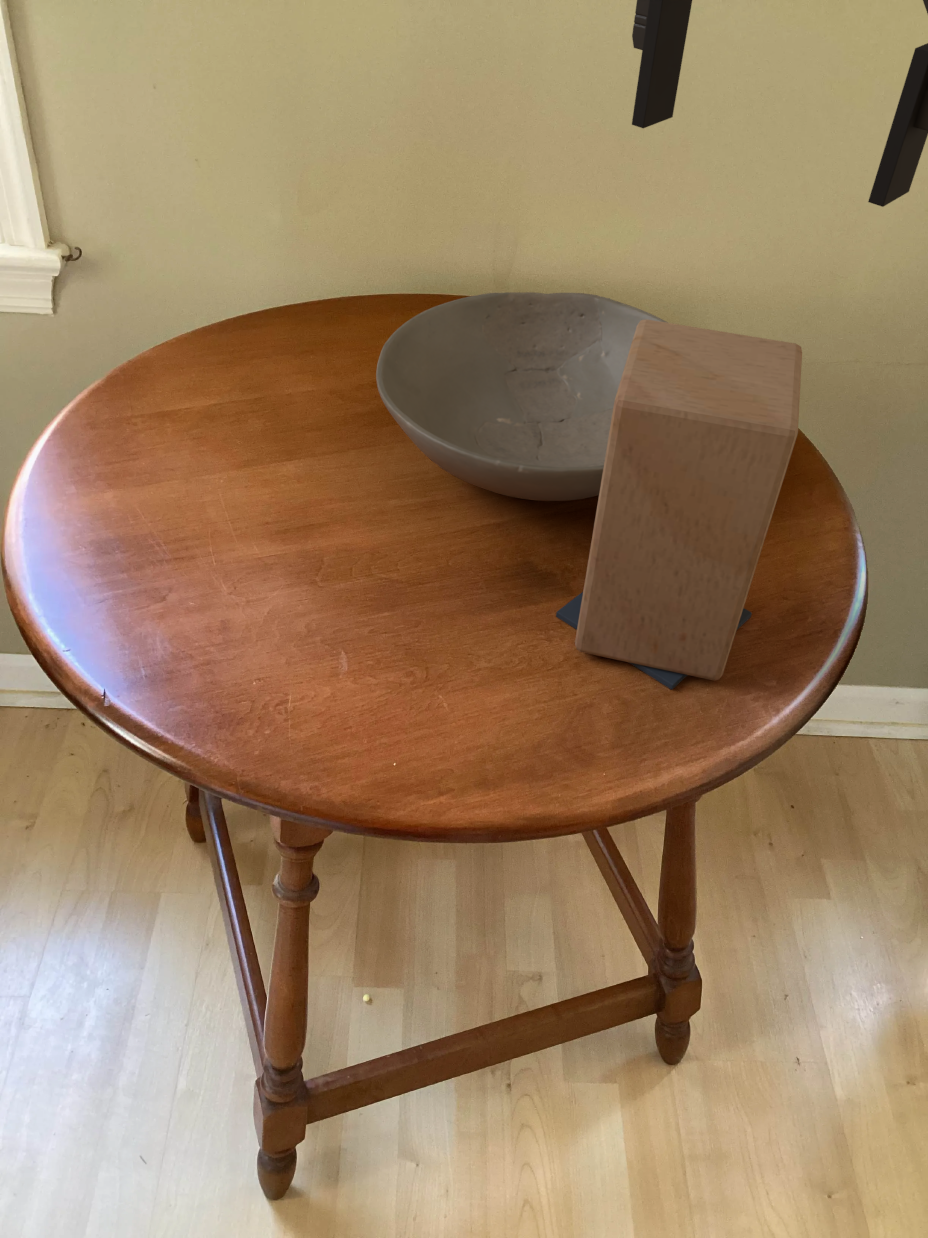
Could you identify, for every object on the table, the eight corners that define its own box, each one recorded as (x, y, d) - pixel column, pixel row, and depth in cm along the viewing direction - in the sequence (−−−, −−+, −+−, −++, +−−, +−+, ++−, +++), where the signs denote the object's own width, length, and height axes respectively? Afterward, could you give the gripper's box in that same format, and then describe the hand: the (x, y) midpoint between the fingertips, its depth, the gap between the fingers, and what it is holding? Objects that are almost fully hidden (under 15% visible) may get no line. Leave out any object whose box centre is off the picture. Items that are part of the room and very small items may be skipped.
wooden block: (720, 685, 69) (800, 430, 56) (572, 653, 71) (614, 397, 57) (731, 588, 76) (804, 341, 63) (596, 561, 78) (639, 314, 64)
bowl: (729, 406, 95) (749, 324, 90) (656, 595, 76) (676, 505, 71) (451, 342, 102) (454, 261, 96) (320, 501, 83) (314, 411, 77)
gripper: (1311, -437, 34) (1038, 211, 49) (675, -443, 46) (609, 80, 60) (1250, -456, 30) (972, 259, 44) (569, -458, 42) (525, 108, 56)
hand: (762, 157), depth 52 cm, fingers open, 13 cm apart
